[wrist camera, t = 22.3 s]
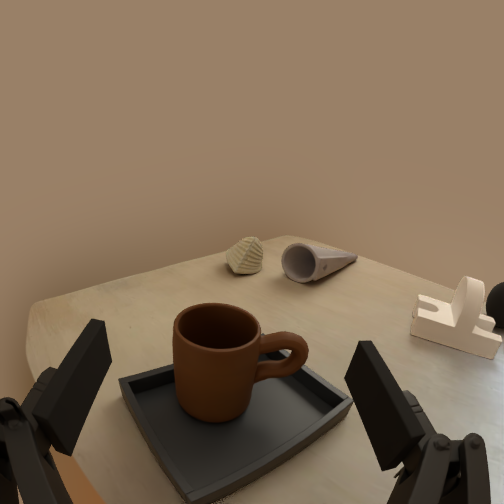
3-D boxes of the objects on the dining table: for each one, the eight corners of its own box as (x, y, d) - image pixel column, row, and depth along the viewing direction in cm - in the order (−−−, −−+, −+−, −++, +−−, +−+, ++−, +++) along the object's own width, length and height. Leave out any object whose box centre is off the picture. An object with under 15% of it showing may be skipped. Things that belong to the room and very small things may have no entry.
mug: (289, 379, 30) (307, 310, 27) (295, 431, 23) (322, 361, 20) (183, 368, 30) (183, 296, 27) (168, 418, 23) (160, 344, 20)
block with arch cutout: (410, 334, 42) (432, 274, 38) (412, 310, 50) (430, 258, 46) (493, 360, 33) (520, 303, 29) (486, 333, 41) (506, 283, 37)
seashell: (271, 253, 65) (274, 246, 57) (250, 285, 64) (251, 283, 56) (240, 234, 66) (239, 225, 58) (219, 265, 64) (216, 260, 56)
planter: (334, 235, 79) (285, 238, 58) (362, 243, 73) (323, 250, 53) (328, 262, 80) (277, 274, 60) (355, 271, 75) (313, 288, 55)
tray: (122, 395, 25) (117, 378, 24) (260, 348, 36) (263, 332, 36) (192, 511, 15) (190, 502, 14) (346, 415, 26) (354, 400, 25)
